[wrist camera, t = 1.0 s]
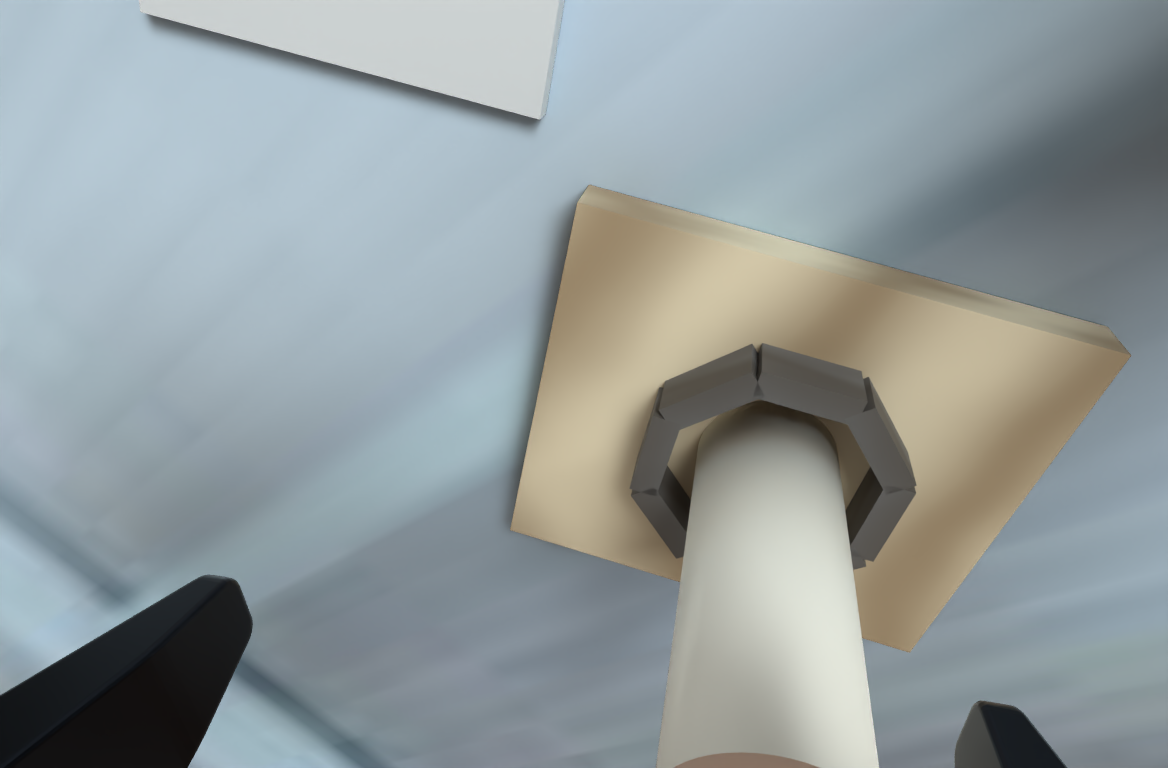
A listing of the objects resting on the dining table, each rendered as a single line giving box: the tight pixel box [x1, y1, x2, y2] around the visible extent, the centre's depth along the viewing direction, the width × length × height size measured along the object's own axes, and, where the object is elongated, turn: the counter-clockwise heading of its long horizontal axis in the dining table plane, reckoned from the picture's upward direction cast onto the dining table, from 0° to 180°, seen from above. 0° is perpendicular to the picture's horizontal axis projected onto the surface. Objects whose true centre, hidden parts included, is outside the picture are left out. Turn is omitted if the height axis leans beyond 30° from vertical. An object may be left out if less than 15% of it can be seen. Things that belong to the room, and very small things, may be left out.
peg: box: [656, 401, 879, 768], centre depth 17 cm, size 4×4×12 cm
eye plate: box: [510, 185, 1131, 652], centre depth 22 cm, size 14×12×3 cm
